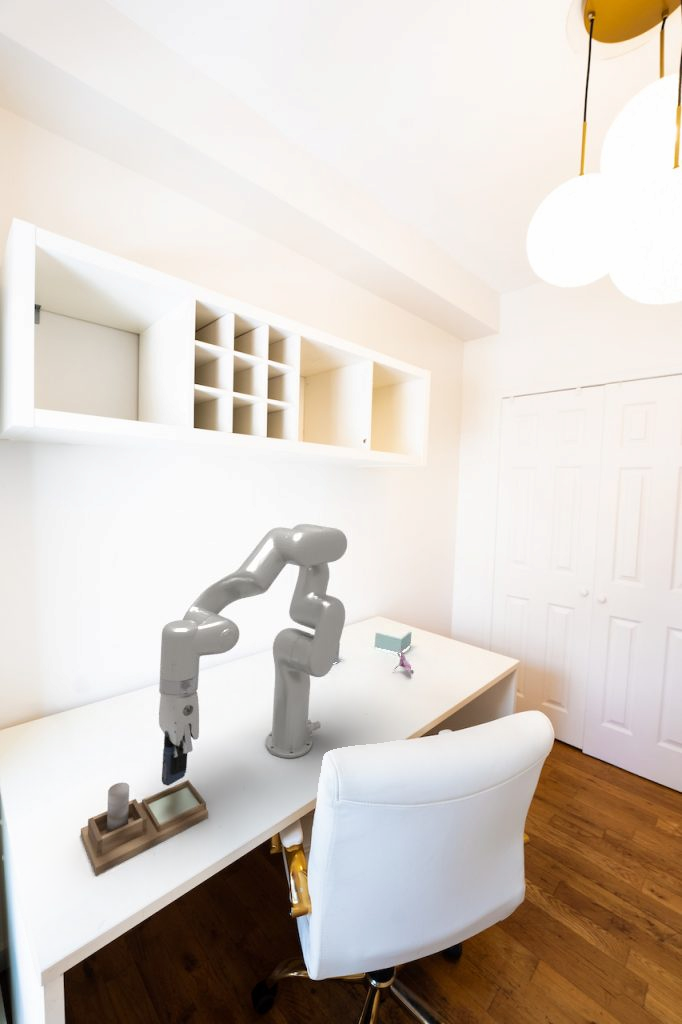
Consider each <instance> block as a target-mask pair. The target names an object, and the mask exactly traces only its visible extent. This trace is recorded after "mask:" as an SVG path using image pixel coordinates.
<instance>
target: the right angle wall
mask: <svg viewBox="0 0 682 1024" xmlns="http://www.w3.org/2000/svg"><path fill="white" fill-rule="evenodd" d="M374 640H375V641H374V648H375V647H377V648H381V649H386V650H390V651H394V652H398V653H400V649H399V646H400V648H401V650H402V651H403V650H404V649H406V648H407V647H408V646H409V645H410V644H411V643H412V631H408V632H407V633H406V634H404V635H402V637H396V636H392V635H388V634H386V633H385V634H384V633H381V632H375V636H374ZM398 645H399V646H398ZM411 645H412V644H411ZM411 645H410V646H411Z"/></svg>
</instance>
